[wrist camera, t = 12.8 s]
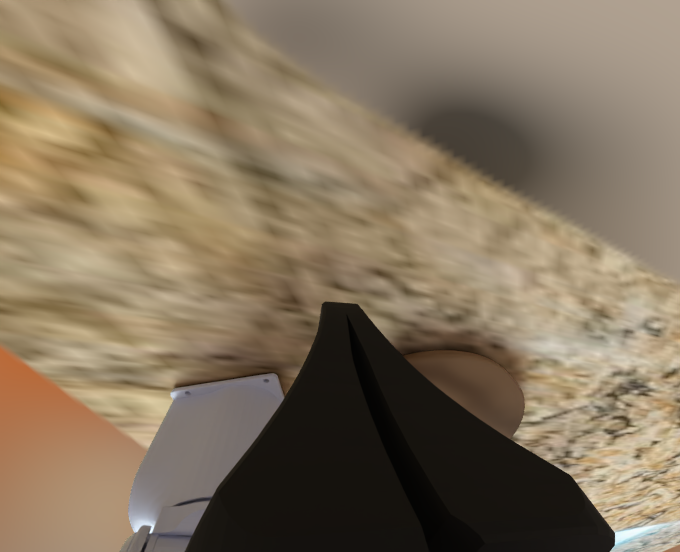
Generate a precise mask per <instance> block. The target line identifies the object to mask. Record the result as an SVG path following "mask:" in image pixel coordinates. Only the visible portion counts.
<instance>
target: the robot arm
mask: <svg viewBox="0 0 680 552" xmlns="http://www.w3.org/2000/svg"><path fill="white" fill-rule="evenodd" d="M171 397H172V398H173V402H172V404H171V406H170V408H169V410H168V412H167V414H166V416H165V418H164V420H163V422H162V424H161V426H160V428H159V430H158V432H157V433H156V435H155V437H154V439H153V441H152V443H151V445H150V447H149V449H148V451H147V453H146V455H145V457H144V459H143V461H142V463H141V465H140V467H139V469H138V471H137V473H136V476H135V479H134V482H133V486H132V489H131V494H130V499H129V508H128V509H129V510H128V513H129V520H130V524H131V527H132V529H133V531H134V532H135V533H134V534H133V535H131V536H130V537H129V538H127V540H126V541H125V543H124V545H123V546H122V548H121V550H120V552H610V550H611V549H612V548H613V547H614V545H615V533H614V531H613V530H612V529H611V527H610V526H609V525H608V523H607V522H606V521H605V520H604V518H603V517H602V516H601V514H600V513H599V512H598V510H597V509H596V508H595V507H594V505H593V504H592V503H591V501H590V500H589V499H588V497H587V496H586V495H585V493H584V492H583V491H582V490H581V488H580V487H579V486H578V484H577V483H576V482H575V480H574V479H573V478H572V477H571V476H570V475H569V474H567V473H566V472H564V471H562V470H561V469H559V468H557V467H555V466H554V465H552V464H550V463H549V462H547V461H545V460H544V459H542V458H540V457H539V456H537V455H535V454H534V453H532V452H530V451H529V450H527V449H525V448H523V447H522V446H520V445H518V444H517V443H515V442H514V441H512V440H510V439H509V438H507V437H506V436H504V435H503V434H501V433H500V432H498V431H497V430H495V429H494V428H492V427H491V426H489V425H488V424H486V423H485V422H483V421H482V420H480V419H479V418H477V417H476V416H475V415H473V414H472V413H470V412H469V411H468V410H466V409H465V408H464V407H462V406H461V405H460V404H458V403H457V402H456V401H454V400H453V399H452V398H450V397H449V396H448V395H446V394H445V393H444V392H443V391H441V390H440V389H439V388H438V387H436V386H435V385H434V384H433V383H432V382H431V381H429V380H428V379H427V378H426V377H425V376H424V375H422V374H421V373H420V372H419V371H418V370H417V369H416V368H415V367H414V366H413V365H411V364H410V363H409V362H408V361H407V360H406V359H405V358H404V357H403V356H402V355H401V354H400V353H399V352H398V351H397V350H396V349H395V347H394V346H393V345H392V344H391V343H390V342H389V341H388V340H387V339H386V338H385V337H384V335H383V334H382V333H381V332H380V331H379V330H378V328H377V327H376V326H375V325H374V324H373V322H372V321H371V320H370V319H369V318H368V316H367V315H366V314H365V313H364V311H363V310H362V309H361V308H360V306H359V305H358V304H350V303H337V302H324V303H323V304H322V308H321V314H320V321H319V327H318V332H317V335H316V338H315V340H314V343H313V345H312V347H311V350H310V352H309V354H308V357H307V359H306V361H305V363H304V365H303V367H302V369H301V370H300V372H299V374H298V376H297V378H296V380H295V381H294V383H293V385H292V386H291V388H290V390H289V391H288V393H287V395H286V396H285V397H284V394H283V391H282V388H281V385H280V382H279V379H278V376H277V375H276V374H274V373H270V374H263V375H257V376H250V377H244V378H237V379H231V380H224V381H218V382H211V383H205V384H199V385H192V386H186V387H179V388H174V389H173V390H172V391H171Z"/></svg>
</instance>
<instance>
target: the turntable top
mask: <svg viewBox="0 0 680 552" xmlns="http://www.w3.org/2000/svg"><path fill="white" fill-rule="evenodd" d="M403 357H404V358H405V359H406V360H407V361H408V362H409V363H410V364H411V365H413V366H414V367H415V368H416V369H417V370H418V371H419V372H420V373H421V374H422V375H424V376H425V377H426V378H427V379H428V380H429V381H431V382H432V383H433V384H434V385H435V386H436V387H438V388H439V389H440V390H441V391H443V392H444V393H445V394H446V395H448V396H449V397H450V398H452V399H453V400H454V401H456V402H457V403H458V404H460V405H461V406H462V407H464V408H465V409H466V410H468V411H469V412H470V413H472V414H473V415H475V416H476V417H477V418H479V419H480V420H482V421H483V422H485V423H486V424H488V425H489V426H491V427H492V428H494V429H495V430H497V431H498V432H500V433H501V434H503V435H504V436H506V437H507V438H509V439H511V437H512V436H513V435H514V433H515V432H516V430H517V429H518V427H519V425H520V423H521V420H522V418H523V415H524V408H525V402H524V396H523V393H522V390H521V389H520V387H519V385H518V384H517V382H516V381H515V380H514V379H513V378H512V376H511V375H510V374H509V373H508V372H507V371H506V370H505V369H504V368H503V367H502V366H501V365H499V364H498V363H496V362H495V361H493V360H491V359H488V358H486V357H484V356H481V355H478V354H474V353H470V352H463V351H456V350H435V351H423V352H417V353H412V354H407V355H403Z"/></svg>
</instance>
